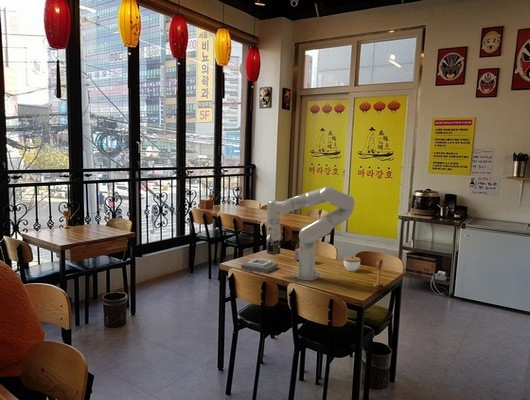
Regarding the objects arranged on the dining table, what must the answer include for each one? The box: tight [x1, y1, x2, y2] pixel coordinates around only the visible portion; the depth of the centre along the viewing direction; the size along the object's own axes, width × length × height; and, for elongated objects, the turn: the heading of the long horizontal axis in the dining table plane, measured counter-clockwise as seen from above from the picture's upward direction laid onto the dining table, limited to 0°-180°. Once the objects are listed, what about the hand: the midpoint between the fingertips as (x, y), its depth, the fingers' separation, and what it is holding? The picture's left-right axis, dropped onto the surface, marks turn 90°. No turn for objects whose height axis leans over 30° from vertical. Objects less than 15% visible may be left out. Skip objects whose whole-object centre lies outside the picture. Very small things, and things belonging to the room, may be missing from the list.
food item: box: [294, 247, 300, 261], centre depth 278 cm, size 14×8×10 cm, turn 44°
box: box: [266, 241, 281, 256], centre depth 243 cm, size 6×6×7 cm
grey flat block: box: [240, 258, 279, 274], centre depth 258 cm, size 18×16×4 cm
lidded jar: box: [343, 255, 362, 272], centre depth 259 cm, size 11×11×9 cm
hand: (273, 250), depth 243 cm, fingers closed on box, 8 cm apart
